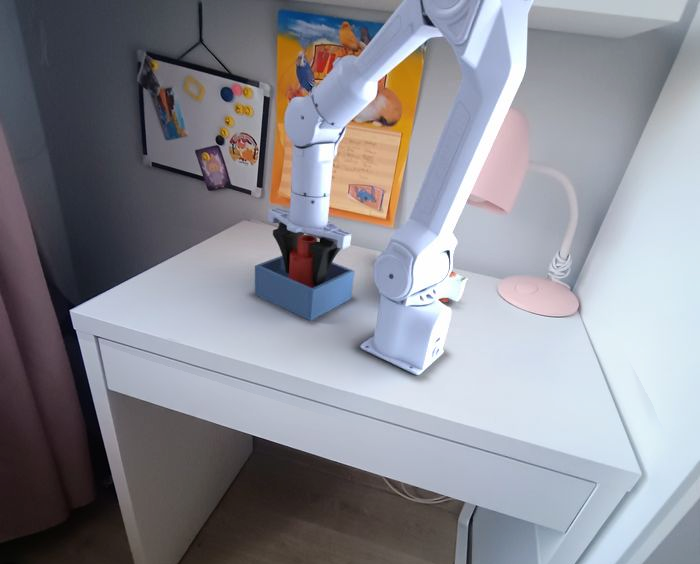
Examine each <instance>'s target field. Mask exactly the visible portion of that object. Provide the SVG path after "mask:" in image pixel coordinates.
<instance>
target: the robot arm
mask: <svg viewBox="0 0 700 564" xmlns="http://www.w3.org/2000/svg"><path fill="white" fill-rule="evenodd" d="M533 3H534V0H402V1H401V3H400V4H399V5H398V6H397V8H396V9H395V10H394V12H393V13H392V14H391V15H390V17H388V19H387V20H386V22H385V23H384V24H383V25H382V27H381V28H380V29H379V30H378V31H377V33H376V34H375V35H374V36H373V38H372V39H371V40H370V41H369V43H368V44H367V45H366V46H365V47H364V49H363V50H362V52H361V53H360V54H359V55H358V56H356V55H353V54H350V55H349V54H348V55H345V56H343V57H339V56H338V57H337V58H336V59H335V60H334V61H333V62H332V66H333V68H332V69H331V70H330V71H329V72H328V73H327V75H325V77H324V78H323V79H322V80H321V82H320V83H319V84H315V85H314V86H313V87H312V89H311V93H310V94H307V95H306V96H295V97H292V98H291V100H290V102H289V104H288V105H287V107H286V109H285V113H284V129H285V130H284V131H285V133H286V136H287V138H288V139H289V141H290V142H291V144H292V153H291V177H290V178H291V179H290V198H289V199H290V200H289V210H287V209H283V208H280V207H274V208H271V209H268V219H267V220H268V223H271V224H278V226H277V228H275V229H273V230H272V237H273V238H274V240H275V241H276V243H277V245H278V247H279V250H280V253H281V256H282V257H283V260H284V265H285V269H286V273H288V274H289V263H290V251H291V250H292V249H295V248H297V245H298V237H299V236H301V235H311V236H313V237H316V238H317V239H319V241H317V242H315V243H312V244H310V249H311V252H312V257H313V285H316V286H318V285H320V284H322V283H324V282H325V278H326V275H327V273H328V270H329V268H330V266H331V263H332V262H333V261H334V260H335V258H336V256H337V255H338V253H339V252H340V251H341V250H344V249H347V248H349V247H351V240H352V233H351V232H348V231H346V230H344V229H342V228H340V227H339V226H337V225H335V224H334V223H332V222H330V221H329V213H330V212H329V210H330V202H331V200H330V199H331V188H332V178H333V167H334V159H335V158H336V156H337V155H338V146H339V144H340V142H342V141H343V138H344V136H345V134H346V130H347V125H348V124H349V123H350V122H351V121H352V120H353V119H354V118H356V116H358V115H359V114H360V113H361V112H362V111H363V110H364V109H365V108H367V106H368V105H369V104H371V103H372V102H373V101H374V100H375V98H376V97H377V94H378V88H379V87H378V85H379V84H378V83H379V81H381V79H382V78H384V77H385V76H386V75H387V74H388V73H390V72H391V71H392V70H393V69H394V68H396V67H397V66H398V65H399V64H400V63H402V62H403V61H404V60H405V59H406V58H407V57H409V56H410V55H411V54H412V53H413V52H414V51H416V50H417V49H418V48H419V47H420V46H422V45H423V44H424V43H425V42H426V41H427V40H429V39H432V38H440V37H441V38H442V37H443V38H444V39H445V40H446V42H447V43H448V44H449V45H450V47H451V48H452V50H453V52H454V54H455V57H456V59H457V63H458V65H459V68H460V70H461V72H462V79H461V82H460V84H459V86H458V89H457V93H456V95H455V97H454V99H453V102H452V106H451V108H450V109H449V110H450V111H449V114H448V115H447V117H446V121H445V124H444V126H443V129H442V132H441V133H440V137H439V139H438V142H437V145H436V147H435V150H434V152H433V155H432V157H431V160H430V162H429V165H428V168H427V171H426V173H425V176H424V178H423V180H422V184H421V186H420V189H419V191H418V194H417V196H416V199H415V201H414V204H413V207H412V209H411V211H410V214H409V217H408V219H407V220H406V221H405V222H404V223H403V224H402V226H400V227H399V228H398V229H397V230H396V231H395V233H394V234H393V235H392V236H391V237H390V239H389V242H388V244H387V246H386V248H385V249H384V250H383V251H384V252H383V251H381V252H380V254H379V255H378V256H377V257H376V258H375V261H374V264H373V267H372V268H373V269H372V270H373V271H372V274H373V280H374V283H375V285H376V288H377V289H378V294H379V295H380V299H379V305H378V311H377V316H376V321H375V328H374V333H373V334H374V335H373V336H372V337H369V338H368V339H367V340H365V341H364V342H363V343H361V344H360V346H359V347H360V349H361V350H363V351H365V352H367V353H369V354H372V355H373V356H375V357H377V358H380V359H382V360H384V361H387V362H388V363H391V364H393V365H395V366H397V367H399V368H401V369H403V370H405V371H407V372H409V373H411V374H413V375H416V376H419V375H421V374H422V373H423V372H424V371H425V370H426V369H427V368H428V367H429V366H431V365H432V363H434V362H435V361H436V360H438V358H439V357H441V356H442V354H444V351H445V350H444V345H445V341H446V337H447V334H448V329H449V326H450V322H451V317H452V308H450V307H449V306H447V305H446V304H444V303H443V302H440V301H439V300H438V299H437V298H436V294H437V291H438V287H439V283H441V282H443V281H444V280H446V279H447V278H448V276H449V275H450V273H451V271H452V270H453V266H454V265H453V264H454V261H453V260H454V259H453V258H454V251H455V248H456V246H457V244H458V240H457V238H456V236H455V235H454V233H453V231H454V229H455V227H456V224H457V222H458V221H459V217H460V216H461V214H462V212H463V209H464V207H465V205H466V203H467V201H468V199H469V196H470V195H471V192H472V189H473V188H474V185H475V183H476V180H477V178H478V176H479V174H480V172H481V171H482V170H481V169H482V168H483V166H484V163H485V161H486V159H487V157H488V154H489V152H490V150H491V148H492V146H493V143H494V141H495V139H496V137H497V135H498V132H499V131H500V128H501V126H502V124H503V122H504V119H505V118H506V115H507V114H508V112H509V108H510V107H511V105H512V102H513V100H514V98H515V96H516V94H517V91H518V89H519V87H520V85H521V82H522V81H523V78H524V75H525V73H526V68H527V53H528V51H527V50H528V27H529V26H528V22H529V21H528V20H529V13H530V10H531V8H532V5H533ZM333 263H334V262H333Z"/></svg>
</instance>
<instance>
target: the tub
mask: <svg viewBox="0 0 700 564" xmlns="http://www.w3.org/2000/svg"><path fill="white" fill-rule="evenodd" d="M354 277H355V270H353V269H351V268H348V267H346V266H343V265H340V264H338V263H335V262H332V263H331V266H330V268H329V270H328V273H327V275H326V278H325V282H324V283H322V284H320V285H318V286H316V287H314V288H310V287H308V286H306V285H304V284H301V283H299V282H297V281H294V280H292V279H290V278H289V274H288V273H286V269H285V265H284V260H283V257H282V255H279V256H277V257H275V258H272V259H269V260H266V261H264V262H261V263H257V264H256V265H254V295H255V296H257V297H259V298H261V299H262V300H263V299H264V300H265V301H268V302H270V303H272V304H273V305H276V306H278V307H279V308H282V309H285V310H287V311H288V312H290V313H293V314H295V315H297V316H299V317H302V318H304V319H306V320H308V321H310V322H311V321H313V320H315V319H317V318H318V317H320V316H322V315H325V314H326V313H327V312H330V311H332V310H333V309H335V308H337V307H339V306H340V305H342V304H344V303H346V302H348V301H349V300H352V294H353V293H352V292H353V287H354V279H355V278H354Z"/></svg>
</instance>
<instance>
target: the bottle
mask: <svg viewBox="0 0 700 564" xmlns="http://www.w3.org/2000/svg"><path fill="white" fill-rule="evenodd" d="M315 242H318V238H316V237H313V236H311V235H308V234H304V235H301V236H299V237H298V245H297V248H295V249H292V250H291V251H290V263H289V278H290V279H292V280H294V281H297V282H299V283H301V284H304V285H306V286H308V287H310V288H314V287H316V285H313V257H312V252H311V249H310V244H312V243H315Z"/></svg>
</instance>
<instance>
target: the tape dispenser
mask: <svg viewBox="0 0 700 564" xmlns="http://www.w3.org/2000/svg"><path fill="white" fill-rule="evenodd" d="M384 251H385V250H383V251H382V252H384ZM466 281H468V277H466V276H463V275H460V274H459V273H456V272H455V271H452V270H451V273H450V275H449V276H448V278H447V279H446V280H444V281H443V282H441V283H439V287H438V291H437V294H436V298H437V299H438V300H439V301H440V302H441V303H448V302H449V299H450V300H452V301H454V302H458V301H460V299H461V297H462V296H463V293H464V290H465V286H466Z"/></svg>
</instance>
